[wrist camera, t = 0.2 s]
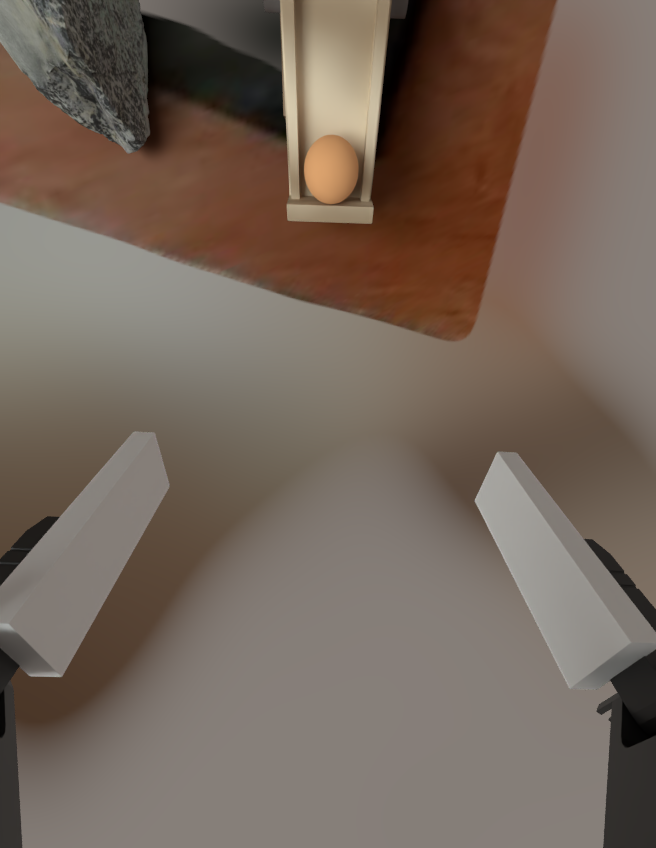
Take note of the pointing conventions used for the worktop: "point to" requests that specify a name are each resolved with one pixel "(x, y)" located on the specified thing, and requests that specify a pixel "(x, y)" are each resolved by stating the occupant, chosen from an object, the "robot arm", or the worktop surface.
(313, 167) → the brown egg
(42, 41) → the stone
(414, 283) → the worktop surface
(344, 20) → the lever
